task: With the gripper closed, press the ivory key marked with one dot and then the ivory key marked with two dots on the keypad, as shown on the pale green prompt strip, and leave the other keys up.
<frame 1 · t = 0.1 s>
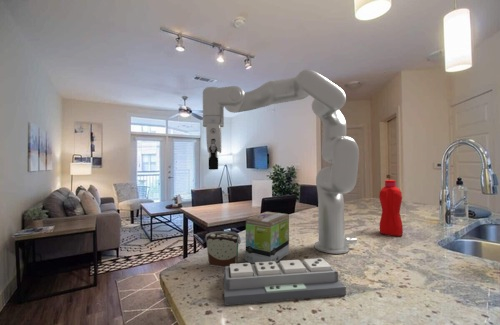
hand: (213, 169, 87), 31 cm above the kitchen island, tool pointing down, fingers open, 9 cm apart
food container: (225, 264, 80), on the kitchen island
red plastic bottle: (391, 233, 113), on the kitchen island
tea box: (268, 258, 85), on the kitchen island
key four dots: (267, 269, 64), point 5 cm above the kitchen island, slide at 0.0 cm
keypad: (279, 285, 65), on the kitchen island
key two dots: (241, 271, 63), point 5 cm above the kitchen island, slide at 0.0 cm
key three dots: (316, 266, 66), point 5 cm above the kitchen island, slide at 0.0 cm
key one dot: (292, 267, 65), point 5 cm above the kitchen island, slide at 0.0 cm
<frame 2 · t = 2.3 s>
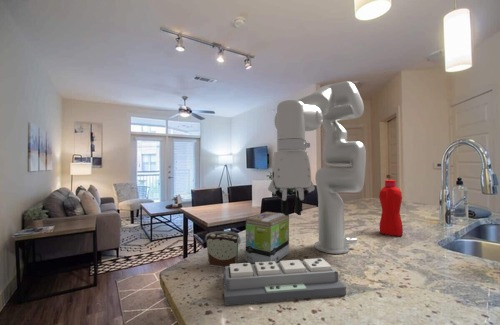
hand: (291, 213, 65), 19 cm above the kitchen island, tool pointing down, fingers closed
nothing on the kitchen island moved.
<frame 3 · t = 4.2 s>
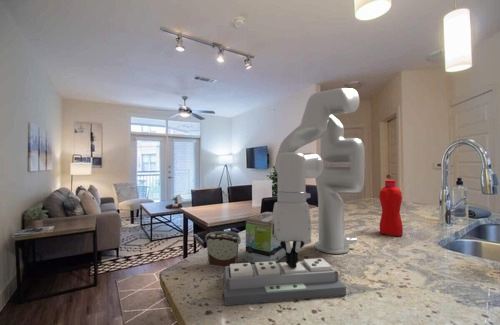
hand: (291, 265, 65), 5 cm above the kitchen island, tool pointing down, fingers closed
key one dot: (292, 269, 65), point 4 cm above the kitchen island, slide at 0.5 cm, touching gripper
everything else where it was.
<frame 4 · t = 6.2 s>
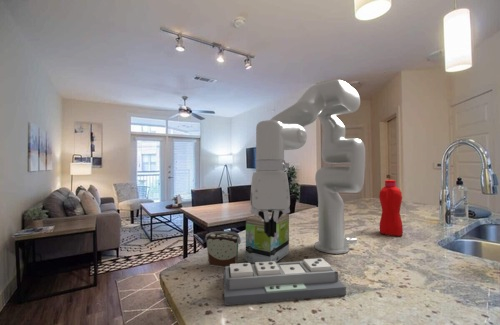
hand: (270, 235, 64), 14 cm above the kitchen island, tool pointing down, fingers closed
key one dot: (292, 272, 65), point 3 cm above the kitchen island, slide at 1.2 cm
everything else where it was.
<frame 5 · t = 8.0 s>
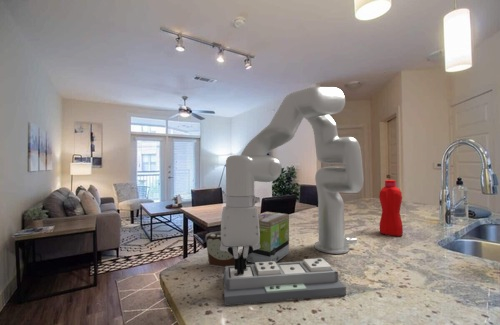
hand: (240, 271, 63), 4 cm above the kitchen island, tool pointing down, fingers closed
key two dots: (241, 275, 63), point 3 cm above the kitchen island, slide at 1.2 cm, touching gripper
everything else where it was.
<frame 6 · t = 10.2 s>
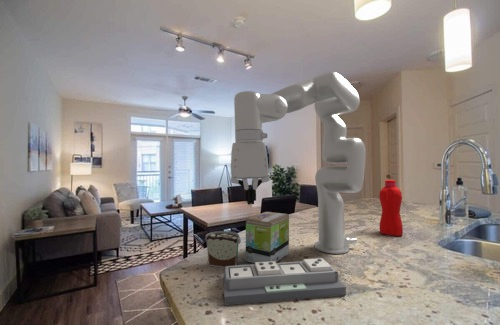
hand: (250, 203, 67), 22 cm above the kitchen island, tool pointing down, fingers closed
key two dots: (241, 275, 63), point 3 cm above the kitchen island, slide at 1.2 cm
everything else where it was.
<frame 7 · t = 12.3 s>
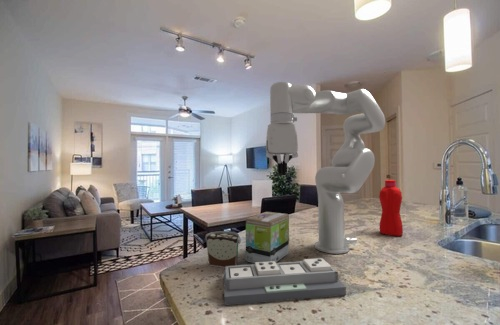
hand: (282, 175, 80), 29 cm above the kitchen island, tool pointing down, fingers closed
nothing on the kitchen island moved.
at the end: key one dot slide at 1.2 cm; key two dots slide at 1.2 cm; key four dots slide at 0.0 cm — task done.
